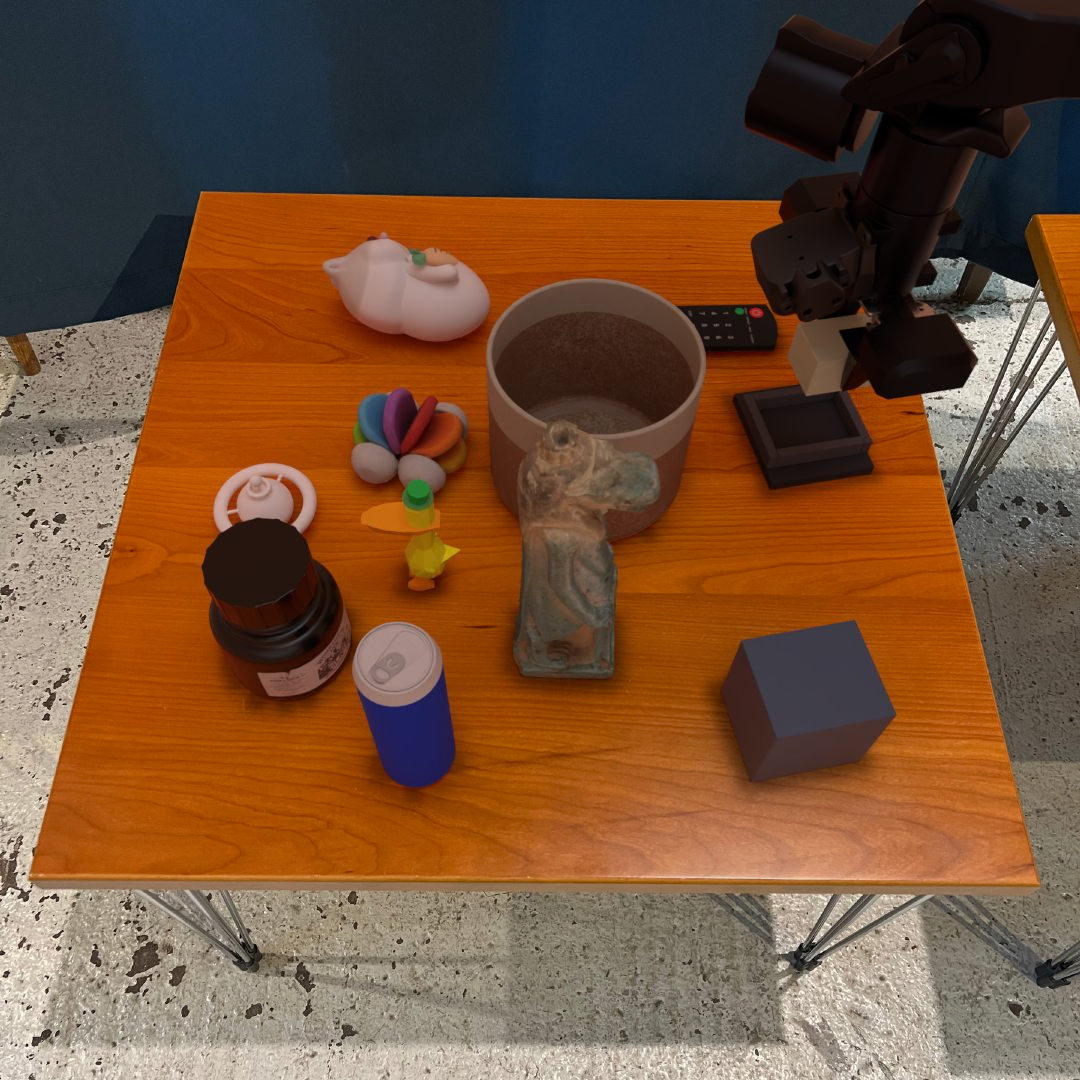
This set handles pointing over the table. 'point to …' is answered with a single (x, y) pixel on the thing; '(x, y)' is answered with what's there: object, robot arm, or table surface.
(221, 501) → the ring around a ball
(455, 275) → the cat figurine
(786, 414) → the dark gray square tray
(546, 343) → the planter
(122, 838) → the table surface
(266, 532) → the ink bottle
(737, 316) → the remote control
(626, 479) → the statue
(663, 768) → the table surface
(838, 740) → the dark gray cube
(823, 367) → the beige block
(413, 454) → the rainbow stacking pebbles
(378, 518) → the toy figure
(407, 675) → the beverage can
